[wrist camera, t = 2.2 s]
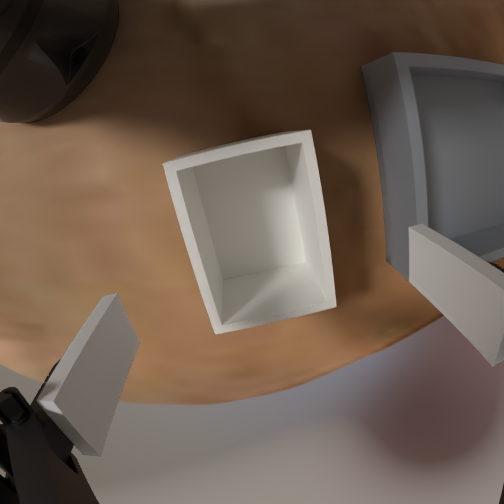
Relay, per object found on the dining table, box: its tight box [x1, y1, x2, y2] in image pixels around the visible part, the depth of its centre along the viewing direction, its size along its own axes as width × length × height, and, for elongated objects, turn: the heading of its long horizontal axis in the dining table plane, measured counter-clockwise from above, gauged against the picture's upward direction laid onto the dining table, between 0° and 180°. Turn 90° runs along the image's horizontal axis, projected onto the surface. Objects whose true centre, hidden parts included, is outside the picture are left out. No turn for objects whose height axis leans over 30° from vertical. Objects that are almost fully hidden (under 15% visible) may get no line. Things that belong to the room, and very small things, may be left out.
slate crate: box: [361, 52, 504, 281], centre depth 20 cm, size 17×21×6 cm
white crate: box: [163, 130, 337, 334], centre depth 21 cm, size 11×8×7 cm
